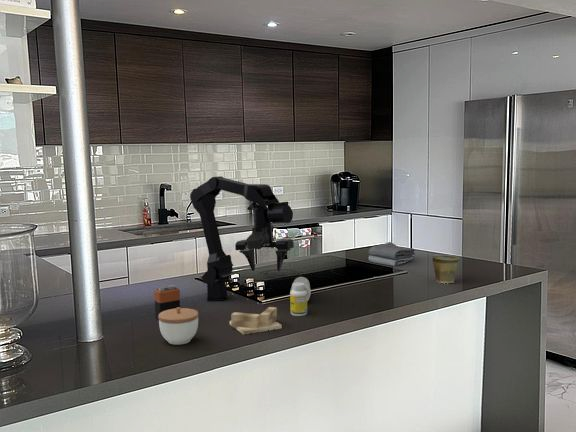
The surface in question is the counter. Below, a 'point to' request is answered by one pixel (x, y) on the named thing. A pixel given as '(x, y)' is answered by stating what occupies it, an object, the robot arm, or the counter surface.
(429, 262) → the counter surface
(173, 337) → the lidded jar
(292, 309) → the supplement bottle
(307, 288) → the beer glass
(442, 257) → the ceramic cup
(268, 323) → the v block
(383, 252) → the towel
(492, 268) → the counter surface
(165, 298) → the battery
